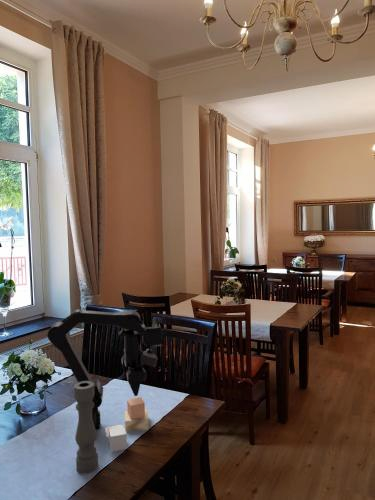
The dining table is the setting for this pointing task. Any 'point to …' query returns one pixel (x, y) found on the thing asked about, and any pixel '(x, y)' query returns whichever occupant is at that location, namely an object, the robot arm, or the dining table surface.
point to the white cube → (117, 438)
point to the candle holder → (85, 428)
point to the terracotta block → (136, 408)
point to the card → (109, 428)
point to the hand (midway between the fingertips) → (134, 390)
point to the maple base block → (136, 422)
